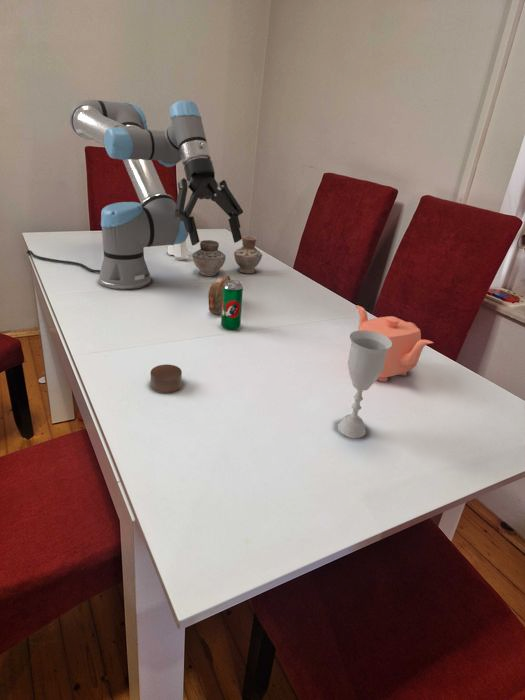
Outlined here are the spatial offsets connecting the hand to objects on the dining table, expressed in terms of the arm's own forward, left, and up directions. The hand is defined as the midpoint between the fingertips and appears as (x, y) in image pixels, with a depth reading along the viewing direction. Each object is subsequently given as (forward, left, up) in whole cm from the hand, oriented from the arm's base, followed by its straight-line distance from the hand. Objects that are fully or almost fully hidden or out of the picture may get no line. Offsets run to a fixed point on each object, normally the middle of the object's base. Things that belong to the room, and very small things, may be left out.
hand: (217, 242), depth 118 cm
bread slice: (0, +2, -19) cm, 19 cm away
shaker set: (-49, +18, -19) cm, 56 cm away
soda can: (+12, -3, -19) cm, 23 cm away
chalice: (+59, -11, -19) cm, 63 cm away
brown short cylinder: (+28, -31, -19) cm, 46 cm away
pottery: (-26, +24, -19) cm, 40 cm away
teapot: (+48, +13, -19) cm, 53 cm away
